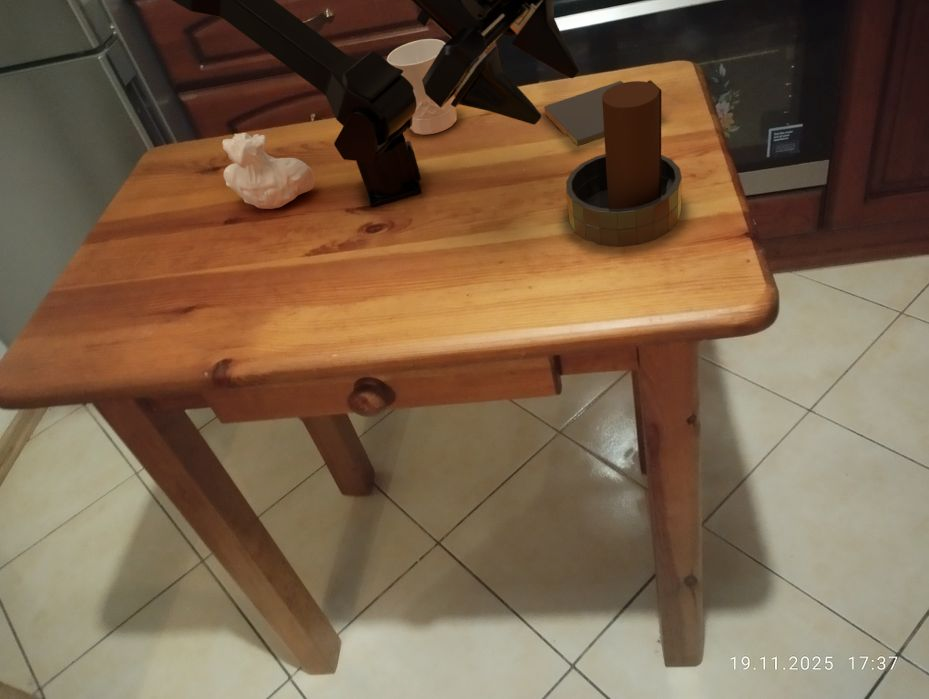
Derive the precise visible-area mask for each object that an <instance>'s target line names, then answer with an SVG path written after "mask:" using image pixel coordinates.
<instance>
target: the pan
mask: <svg viewBox="0 0 929 699" xmlns="http://www.w3.org/2000/svg"><path fill="white" fill-rule="evenodd" d="M682 189H683V176H682V171H681V168H680V166H678V164H676V162H675V161H674V160H672V158H669V157H667V156H665V155H663V154H661V197H660V198H658V199H656V200H654V201H653V202H651V203H647V204H644V205H641V206H637V207H633V208H624V209H609V205H608V188H607V171H606V155H605V153H603V154H600V155H599V154H598V155H596V156H594V157H592V158H590V159H588V160H585V161H584V162H582V163H580V164H579V165H578V166H577V167H575V168H574V169H573V170H572V171H571V172H570V174H569V176H568V177H567V179H566V181H565V193H566V200H567V201H566V202H567V210H568V221H569V224H570V226H571V228H572V230H573V231H574V232H575V234H577V235H578V236H579V237H580V238H582V239H583V240H585V241H588V242H589V243H592V244H595V245H600V246H605V247H630V246H637V245H641V244H645V243H648V242H651V241H654V240H656V239H658V238H660V237H662V236H664V235H665V234H667V233H668V232H670V231H671V230H672V229H673V228H674V227H675V225H676V224H677V223H678V221H679V219H680V215H681V213H682V192H683V191H682Z"/></svg>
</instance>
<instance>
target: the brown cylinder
mask: <svg viewBox="0 0 929 699" xmlns="http://www.w3.org/2000/svg"><path fill="white" fill-rule="evenodd" d="M662 95H663V94H662V89H661V88H660V87H659V86H658V85H657V84H656V83H654V81H652V80H651V79H649V80H647V81H643V80H642V81H641V80H633V81H625V82H623V83H621V84H618V85H615V86H613V87H611V88H609V89H608V90H606V91H605V92H604V94H603V96H602V105H603V122H604V137H603V138H604V152H605V153H604V154H605V155H606V171H607V188H608V205H609V209H624V208H633V207H637V206H641V205H644V204H647V203H651V202H653V201H654V200H656V199H658V198H660V197H661V155H662Z"/></svg>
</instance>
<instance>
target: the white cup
mask: <svg viewBox="0 0 929 699" xmlns="http://www.w3.org/2000/svg"><path fill="white" fill-rule="evenodd" d="M445 44H446V42H445V41H444V40H441V39H436V38H423V39H418V40H414V41H411V42H408V43H405V44H402V45H400V46H398V47H396V48H395V49H393V50H392V51H391V52H389V54H388V55H387V58H386V61H387V62H388V63H390V64H391V65H392V66H394V67H396V68H399V69H402V70H403V73H402V74H401V75H402V76H404V77H405V78H406V79H407V80H408V81H409V82H410V83H411V85H412V86H413V88H414V90H413V92H414V94H415V97H416V104H417V106H416V111H415V113H414V114H413V117H412V126H411V127H410V128H409V129H410V130H411V131H412V132H413V133H414V134H417V135H421V136H422V135H423V136H424V135H434V134H438V133H441V132H445V131H446V130H448V129H449V128H451V127H452V126H453V125H455V123H456V122H457V120H458V119H457V118H458V115H457V114H458V113H457V108H456V107H457V106H456V107H453V106H452V105H451V103H452V101H453V100H454V98H455V97H456V96H455V95H454V96H453V97H452V98H451V99H450V100H449V101H448V102H447V103H446V104H445V105H444V106H443V107H442V108H440V107H439V106H438V105H437V104H436V103H435V102H434V101H433V100H431V99H430V98H429V97H428V96H427V95H426V94H425V90H424V86H423V82H422V79H423V78H424V76H425V75H426V73H427V71H428V70H429V68H430V67H431V65H432V63H433V62H434V60H435V58H436V57H437V55H438V54H439V52H440V50H441V49H442V47H443V46H444V45H445Z"/></svg>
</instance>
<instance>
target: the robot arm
mask: <svg viewBox="0 0 929 699" xmlns="http://www.w3.org/2000/svg"><path fill="white" fill-rule="evenodd" d="M171 1H172V2H174V3H175V4H177V5H179V6H180V7H182V8H184V9H185V10H187V11H190V12H191V13H195V14H196V13H197V14H202V15H207V16H210V17H211V16H213V17H217V18H221V19H222V20H224V21H226V22H227V23H229V24H230V25H231V26H232V27H233V28H235V29H236V30H238V31H239V32H241V33H242V34H243V35H244V36H246V37H247V38H248V39H249V40H251V41H253V42H254V43H255V44H256V45H257V46H259V47H260V48H262V49H263V50H264V51H266V52H267V53H269V54H270V55H271V56H273V57H274V58H275V59H277V60H278V61H280V62H281V63H282V64H283V65H285V66H286V67H288V69H290V70H291V71H293V72H294V73H295V74H297V75H298V76H299V77H301V78H302V79H304V80H305V81H306V82H307V83H309V84H310V85H312V87H314V88H316V89H317V90H318V91H320V93H322V94H323V95H324V96H325V97H326V100H327V102H328V104H329V107H330V109H331V111H332V114H333V116H334V118H335V120H336V121H337V122H338V123H339V124H340V125H341V126H342V128H341V130H340V132H339V133H338V135H337V137H336V139H335V141H334V142H333V145H334V147H335V149H336V150H337V152H338V153H339V155H340V156H341V158H342V159H343V160H345V161H346V160H347V161H352V162H353V161H354V162H355V163H356V165H357V167H358V171H359V174H360V177H361V179H362V182H363V185H364V188H365V191H366V196H367V202H368V204H369V206H370V207H376V206H379V205H382V204H385V203H389V202H391V201H395V200H399V199H401V198H402V199H403V198H405V197H409V196H412V195H416V194H418V193H420V192H421V191H422V189H421V186H420V183H419V181H421V179H422V176H421V173H420V170H419V165H418V162H417V158H416V154H415V152H414V148H413V145H412V142H411V141H410V140H406V137H405V134H404V133H405V132H406V131H407V130H408V129H410V127H411V126H412V117H413V114H414V113H415V111H416V106H417V104H416V97H415V94H414V92H413V90H414V88H413V86H412V85H411V83H410V82H409V81H408V80H407V79H406V78H405V77H404V76H402V75H401V74H402V73H403V70H402V69H399V68H396V67H394V66H392V65H391V64H390V63H388V61H387V59H385V57H384V56H382V55H381V54H380V53H378V52H376V51H374V50H371V51H370V52H368V53H367V54H365V55H364V56H363V57H362V58H357V57H352V56H350V55H348V54H347V53H345V52H344V51H343V50H342V49H340V48H339V47H337V46H336V45H334V44H333V43H332V42H331V41H329V40H328V39H326V38H325V37H324V36H323V35H321V34H320V33H319V32H317V31H316V30H315V29H313V28H312V27H310V26H309V25H308V24H307V23H305V22H304V21H303V20H302V19H300V18H299V17H298V16H296V15H295V14H293V13H292V12H291V11H289V9H286V8H285V7H284V6H283V5H282V4H280V3H278V1H276V0H171ZM410 1H411V2H412V3H413V4H414V5H415V6H417V8H418V9H419V10H420V12H419V14H418V16H417V18H416V20H417V21H418V22H419V23H420V24H421V26H423V27H427V26H428V25H429V24H430V23H432V22H433V23H434V24H435V25H436V26H437V27H439V29H441V30H442V31H443V32H444V33H445V34H446V36H448V37H449V38H450V39H448V41H447V42H445V45H444V46H443V47H442V49H441V50H440V52H439V54H438V55H437V57H436V58H435V60H434V62H433V63H432V65H431V67H430V68H429V70H428V71H427V73H426V75H425V76H424V78H423V79H422V82H423V86H424V90H425V94H426V95H427V96H428V97H429V98H430V99H431V100H433V101H434V102H435V103H436V104H437V105H438V106H439V107H440V108H442V107H443V106H444V105H445V104H446V103H447V102H448V101H449V100H450V99H451V98H452V97H453V96H454V97H455V98H454V100H453V101H452V103H451V105H452V106H453V107H458V106H465V107H469V108H474V109H478V110H483V111H487V112H491V113H495V114H497V115H500V116H504V117H508V118H511V119H514V120H517V121H521V122H524V123H527V124H530V125H537V124H538V122H539V121H540V120H541V119H542V114H541V112H540V111H539V110H538V108H537V107H536V106H535V105H534V104H533V102H532V101H531V100H530V99H529V98H528V97H527V96H526V94H525V93H523V91H522V90H521V89H520V88H519V87H518V86H517V85H516V83H514V81H513V80H512V79H511V78H510V77H509V76H508V75H507V74H506V73H505V71H504V70H503V68H502V64H501V60H500V55H499V50H498V47H497V46H495V47H493V48H492V49H491V50H490V51H489V52H488V53H486V51H487V50H488V49H489V48H490V47H491V46H493V44H495V43H496V42H497V41H498V39H499V38H501V37H502V36H507V37H511V38H513V37H514V36H515V35H516V36H515V37H514V39H513V41H512V42H511V45H512V46H514V47H516V48H517V49H519V50H520V51H522V52H524V53H525V54H528V55H529V56H530V57H532V58H534V59H536V60H538V61H539V62H541V63H543V64H545V65H546V66H548V67H549V68H551V69H553V70H555V71H556V72H558V73H560V74H562V75H564V76H566V77H568V78H570V79H574V78H575V77H576V76H577V74H579V73H580V68H579V66H578V64H577V62H576V60H575V58H574V56H573V54H572V52H571V50H570V48H569V46H568V44H567V42H566V40H565V39H564V36H563V34H562V33H561V31H560V28H559V26H558V24H557V21H556V19H555V14H554V13H555V12H554V10H555V0H410Z"/></svg>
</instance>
